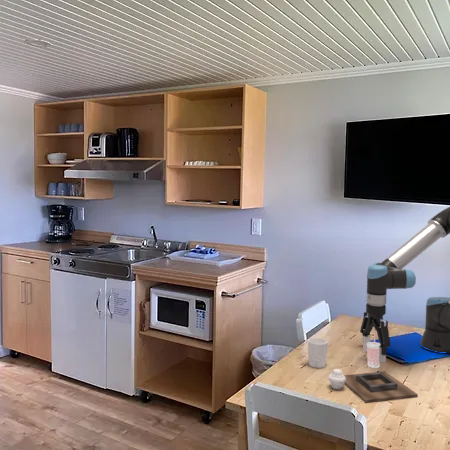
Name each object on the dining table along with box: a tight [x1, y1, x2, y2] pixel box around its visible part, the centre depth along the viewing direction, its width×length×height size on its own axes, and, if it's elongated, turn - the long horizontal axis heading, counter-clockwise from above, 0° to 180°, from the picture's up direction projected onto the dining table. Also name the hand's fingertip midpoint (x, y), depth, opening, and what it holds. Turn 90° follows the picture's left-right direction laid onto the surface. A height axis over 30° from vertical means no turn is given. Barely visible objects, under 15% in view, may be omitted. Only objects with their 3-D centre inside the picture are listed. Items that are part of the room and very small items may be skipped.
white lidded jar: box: [328, 368, 346, 390], centre depth 168 cm, size 6×6×7 cm
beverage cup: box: [366, 331, 381, 369], centre depth 188 cm, size 6×6×14 cm
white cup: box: [307, 337, 329, 369], centre depth 189 cm, size 8×8×10 cm
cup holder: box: [343, 370, 419, 404], centre depth 169 cm, size 20×20×3 cm
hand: (373, 356), depth 188 cm, fingers open, 11 cm apart
